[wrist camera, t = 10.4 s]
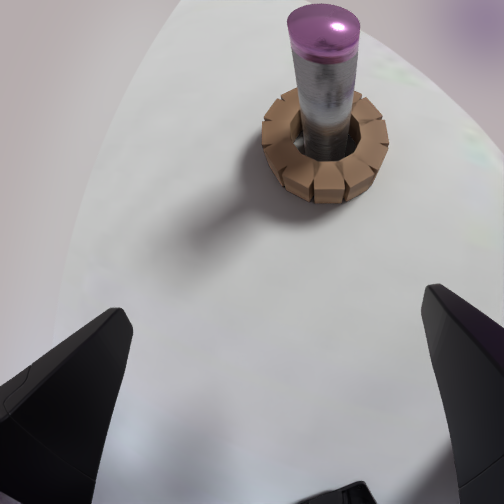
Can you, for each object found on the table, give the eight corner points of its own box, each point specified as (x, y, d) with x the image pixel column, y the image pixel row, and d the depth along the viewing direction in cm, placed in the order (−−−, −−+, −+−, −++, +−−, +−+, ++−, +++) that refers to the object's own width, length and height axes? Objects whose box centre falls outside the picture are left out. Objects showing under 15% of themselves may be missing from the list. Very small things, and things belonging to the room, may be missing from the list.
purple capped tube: (349, 164, 22) (371, 39, 9) (310, 171, 22) (297, 47, 10) (338, 130, 23) (344, 1, 10) (300, 137, 23) (280, 8, 10)
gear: (402, 169, 21) (412, 152, 18) (306, 225, 22) (304, 213, 19) (337, 90, 23) (338, 68, 20) (248, 135, 24) (240, 116, 21)
